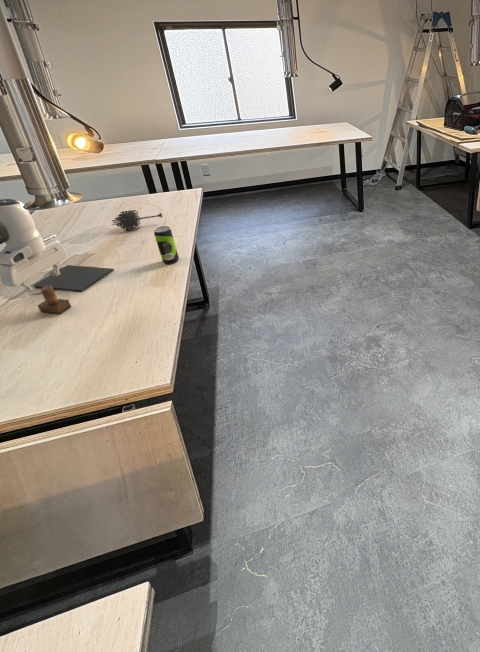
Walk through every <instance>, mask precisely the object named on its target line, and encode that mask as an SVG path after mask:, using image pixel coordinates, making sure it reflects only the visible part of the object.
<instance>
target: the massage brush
mask: <svg viewBox="0 0 480 652" xmlns="http://www.w3.org/2000/svg"><path fill="white" fill-rule="evenodd" d="M150 218H161V219H162V218H163V214H162V212H160V213H158V214H156V215H151V216H143V217H140V216H139V211H138V210H136V209H132V210H126V211H125V210H124V211H120V212H119V214H117V216H116V217H114V219H112V220H111V222H112V226H116V227H118V228H119V227H120V229H122V230H124V231H128V230H127V229H132V230H134V229H133V228H136V227H137V226H139V225H140V224H141V220H145V219H150ZM134 226H135V227H134ZM137 229H141V227H140V226H139V227H137Z"/></svg>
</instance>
